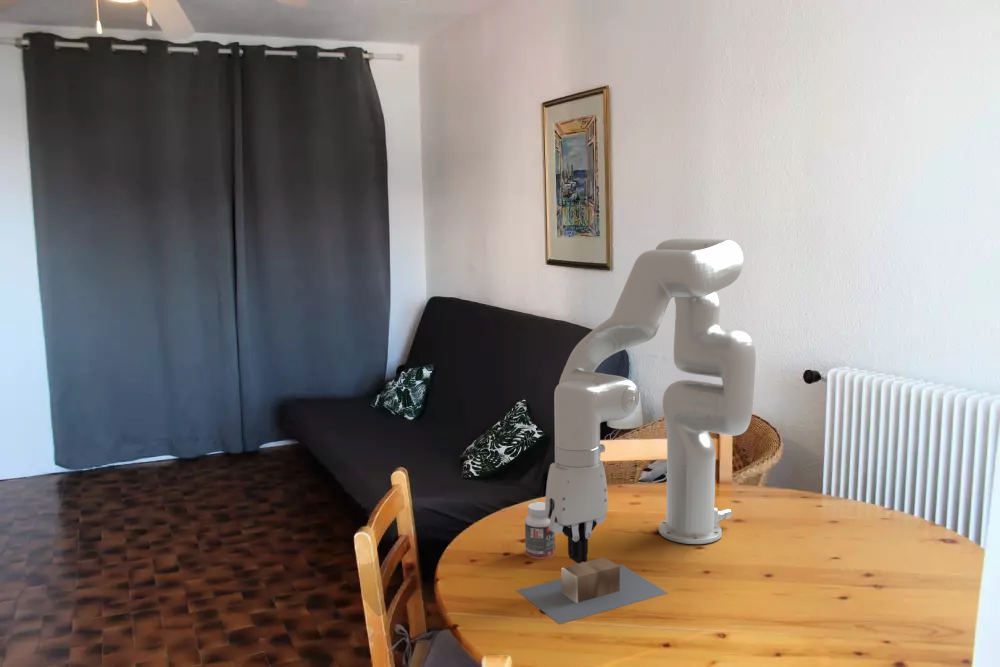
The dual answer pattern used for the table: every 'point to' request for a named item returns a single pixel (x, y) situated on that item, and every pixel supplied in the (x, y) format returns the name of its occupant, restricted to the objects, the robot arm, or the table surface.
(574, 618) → the mat
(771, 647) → the table surface
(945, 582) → the table surface
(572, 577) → the block
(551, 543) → the pill bottle
